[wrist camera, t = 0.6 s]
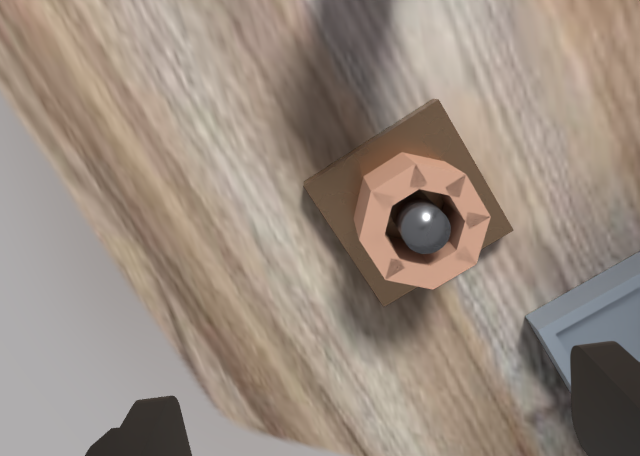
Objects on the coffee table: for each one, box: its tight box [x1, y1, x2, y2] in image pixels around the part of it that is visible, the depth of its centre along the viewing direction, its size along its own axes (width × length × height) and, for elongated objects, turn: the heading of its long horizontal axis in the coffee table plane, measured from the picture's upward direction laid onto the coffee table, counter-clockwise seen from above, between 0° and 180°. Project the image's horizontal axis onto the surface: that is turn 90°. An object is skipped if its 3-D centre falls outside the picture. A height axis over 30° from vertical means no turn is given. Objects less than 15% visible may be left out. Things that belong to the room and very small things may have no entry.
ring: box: [353, 152, 491, 289], centre depth 29 cm, size 6×6×4 cm
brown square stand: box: [304, 99, 513, 307], centre depth 30 cm, size 9×9×6 cm
